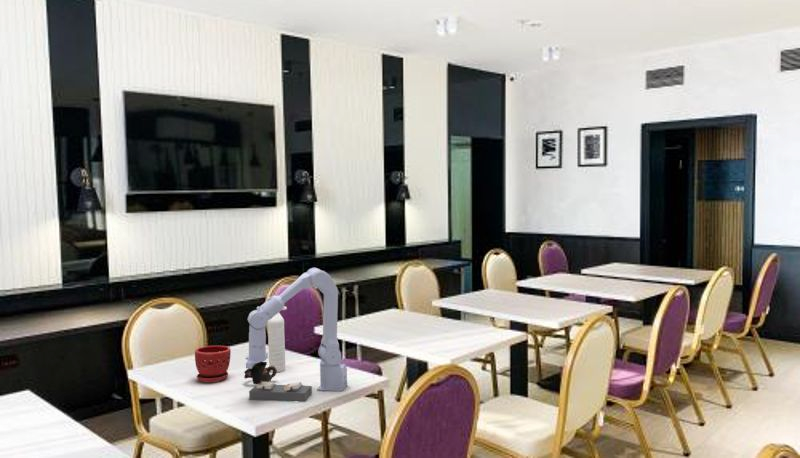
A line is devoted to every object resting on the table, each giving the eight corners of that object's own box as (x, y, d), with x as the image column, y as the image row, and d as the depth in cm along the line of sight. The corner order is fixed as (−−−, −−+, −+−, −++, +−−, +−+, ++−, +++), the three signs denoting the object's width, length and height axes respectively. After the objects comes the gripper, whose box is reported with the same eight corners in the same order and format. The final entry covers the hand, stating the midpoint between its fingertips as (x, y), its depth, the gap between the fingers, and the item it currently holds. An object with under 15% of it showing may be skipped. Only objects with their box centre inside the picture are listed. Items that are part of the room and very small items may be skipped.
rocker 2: (301, 385, 218) (300, 381, 218) (298, 388, 214) (297, 384, 214) (288, 387, 219) (287, 383, 219) (284, 391, 215) (283, 387, 215)
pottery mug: (250, 390, 228) (242, 369, 230) (249, 395, 236) (241, 374, 238) (281, 378, 232) (273, 357, 235) (279, 382, 241) (271, 362, 243)
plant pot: (221, 385, 234) (220, 353, 233) (189, 383, 236) (188, 352, 235) (237, 374, 246) (236, 344, 246) (206, 373, 249) (205, 343, 248)
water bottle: (276, 373, 247) (274, 311, 245) (265, 370, 251) (263, 309, 249) (293, 368, 254) (291, 307, 252) (282, 365, 258) (280, 305, 256)
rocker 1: (274, 386, 219) (274, 382, 219) (270, 389, 216) (270, 385, 216) (260, 385, 220) (260, 381, 220) (256, 388, 217) (256, 384, 217)
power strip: (312, 394, 221) (311, 385, 221) (304, 401, 213) (304, 392, 213) (258, 392, 225) (258, 383, 224) (249, 399, 217) (249, 390, 216)
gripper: (254, 339, 225) (254, 376, 226) (237, 349, 211) (237, 388, 212) (273, 340, 224) (272, 378, 225) (257, 350, 210) (256, 390, 211)
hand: (256, 383), depth 218 cm, fingers closed, pressing on rocker 1
